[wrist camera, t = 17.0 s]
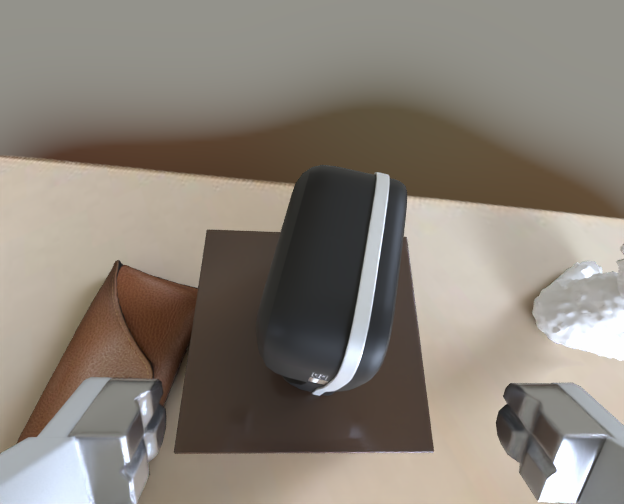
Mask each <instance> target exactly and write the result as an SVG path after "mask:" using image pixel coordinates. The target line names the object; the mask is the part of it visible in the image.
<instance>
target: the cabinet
mask: <svg viewBox="0 0 624 504" xmlns="http://www.w3.org/2000/svg"><path fill="white" fill-rule="evenodd" d="M280 233H281V232H258V231H231V230H207V232H206V239H205V246H204V252H203V259H202V266H201V273H200V279H199V286H198V293H197V300H196V306H195V313H194V320H193V327H192V333H191V340H190V347H189V353H188V360H187V367H186V374H185V380H184V387H183V394H182V401H181V407H180V414H179V421H178V428H177V434H176V441H175V448H174V453H175V454H221V453H433V452H434V448H433V440H432V432H431V424H430V416H429V408H428V400H427V392H426V384H425V377H424V369H423V361H422V353H421V345H420V337H419V329H418V321H417V313H416V305H415V298H414V290H413V282H412V274H411V266H410V258H409V250H408V242H407V237H403V246H402V255H401V263H400V271H399V279H398V288H397V296H396V304H395V312H394V319H393V325H392V332H391V336H390V341H389V345H388V349H387V352H386V355H385V358H384V361H383V363H382V365H381V367H380V369H379V371H378V372H377V373H376V374H375V375H374V376H373V378H372V379H371V380H369V381H368V382H366V383H364V384H362V385H360V386H358V387H356V388H354V389H351V390H348V391H337V392H335V393H333V394H332V395H329V396H327V395H322V394H321V395H320V396H318V395H314V394H312V392H309V391H305V390H301V389H299V388H297V387H295V386H293V385H291V384H289V383H288V382H287V381H286V380H285V379H284V378H283V377H282V375H279V374H277V373H275V372H273V371H272V370H271V369H269V368H268V367H267V366H266V365H265V363H264V360H263V359H262V357H261V355H260V354H259V350H258V343H257V335H256V320H257V314H258V309H259V305H260V302H261V298H262V295H263V291H264V288H265V284H266V281H267V277H268V274H269V271H270V267H271V264H272V260H273V257H274V253H275V250H276V246H277V243H278V240H279V236H280Z"/></svg>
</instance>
